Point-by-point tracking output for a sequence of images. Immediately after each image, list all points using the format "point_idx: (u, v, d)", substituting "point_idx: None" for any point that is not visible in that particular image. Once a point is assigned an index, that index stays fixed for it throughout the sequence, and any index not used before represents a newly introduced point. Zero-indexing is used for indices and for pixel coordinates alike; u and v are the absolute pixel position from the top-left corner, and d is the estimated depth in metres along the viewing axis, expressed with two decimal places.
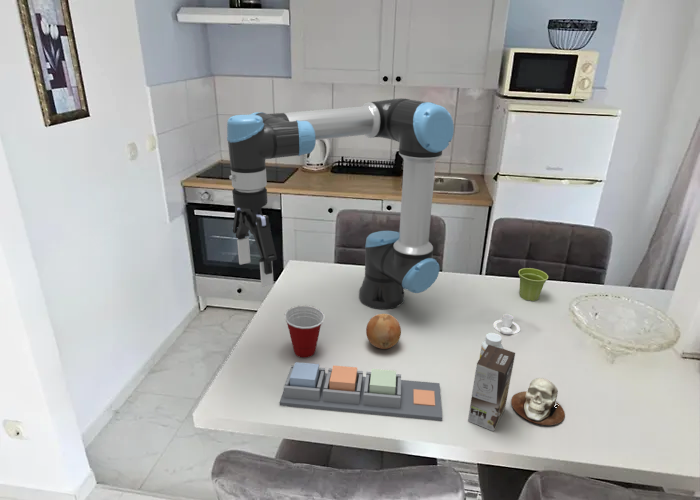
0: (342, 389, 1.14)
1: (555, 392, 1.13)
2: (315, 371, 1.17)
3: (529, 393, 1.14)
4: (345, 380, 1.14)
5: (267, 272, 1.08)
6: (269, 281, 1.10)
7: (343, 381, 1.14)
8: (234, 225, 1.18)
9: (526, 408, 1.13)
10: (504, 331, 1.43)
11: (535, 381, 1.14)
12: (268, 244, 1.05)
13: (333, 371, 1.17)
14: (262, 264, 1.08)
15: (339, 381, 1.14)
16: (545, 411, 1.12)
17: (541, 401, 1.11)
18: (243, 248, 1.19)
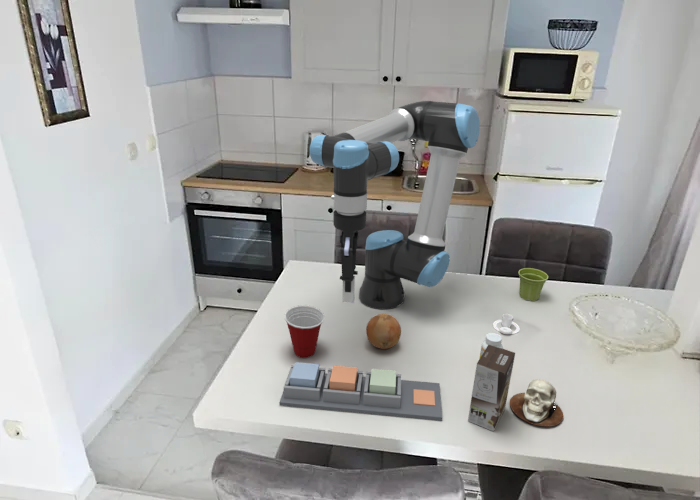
0: (342, 389, 1.14)
1: (554, 393, 1.13)
2: (315, 371, 1.17)
3: (528, 394, 1.13)
4: (345, 380, 1.14)
5: (345, 290, 1.16)
6: (350, 299, 1.19)
7: (343, 381, 1.14)
8: None
9: (525, 410, 1.12)
10: (504, 331, 1.43)
11: (534, 382, 1.13)
12: (346, 270, 1.12)
13: (333, 371, 1.17)
14: (344, 282, 1.17)
15: (339, 381, 1.14)
16: (544, 412, 1.11)
17: (540, 402, 1.10)
18: None
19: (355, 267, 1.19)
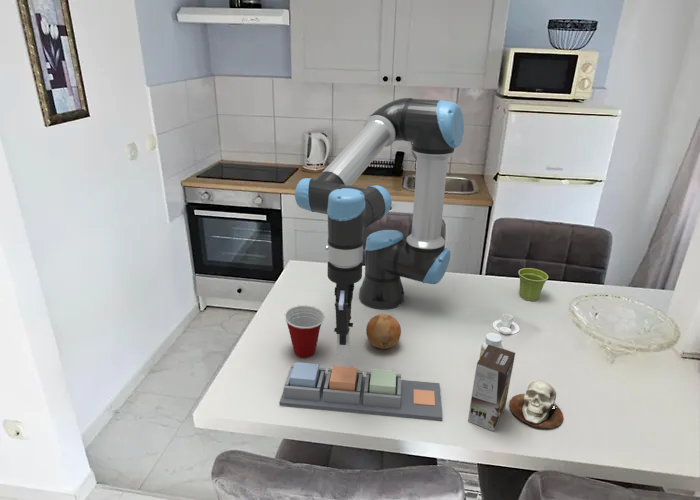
0: (342, 389, 1.14)
1: (553, 395, 1.12)
2: (315, 371, 1.17)
3: (527, 396, 1.13)
4: (345, 380, 1.14)
5: (340, 343, 1.10)
6: (344, 352, 1.12)
7: (343, 381, 1.14)
8: None
9: (525, 411, 1.12)
10: (503, 331, 1.43)
11: (533, 383, 1.13)
12: (341, 324, 1.05)
13: (333, 371, 1.17)
14: (338, 334, 1.11)
15: (339, 381, 1.14)
16: (543, 414, 1.11)
17: (539, 404, 1.10)
18: None
19: (350, 318, 1.13)
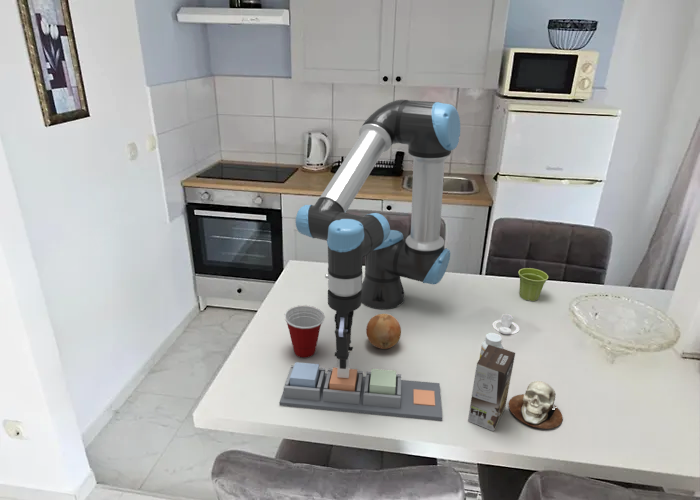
0: None
1: (553, 395, 1.12)
2: (315, 371, 1.17)
3: (527, 396, 1.13)
4: (345, 382, 1.15)
5: (340, 367, 1.13)
6: (345, 375, 1.15)
7: (343, 383, 1.14)
8: None
9: (524, 412, 1.12)
10: (503, 331, 1.43)
11: (533, 384, 1.13)
12: (341, 349, 1.08)
13: (333, 373, 1.17)
14: None
15: (339, 383, 1.14)
16: (543, 414, 1.11)
17: (539, 404, 1.10)
18: None
19: (350, 342, 1.16)
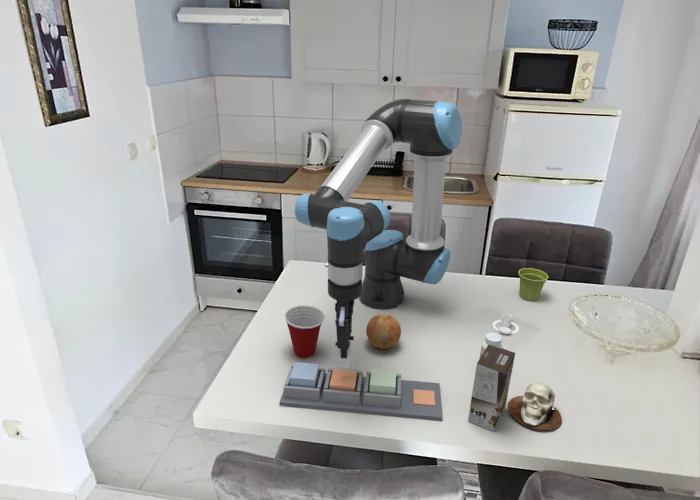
0: None
1: (552, 397, 1.12)
2: (315, 371, 1.17)
3: (526, 398, 1.12)
4: (345, 384, 1.15)
5: (341, 356, 1.12)
6: (346, 364, 1.15)
7: (343, 385, 1.14)
8: None
9: (523, 413, 1.11)
10: (503, 331, 1.43)
11: (532, 385, 1.12)
12: (342, 339, 1.07)
13: (333, 375, 1.18)
14: None
15: (339, 385, 1.14)
16: (542, 416, 1.10)
17: (538, 406, 1.09)
18: None
19: (351, 331, 1.15)
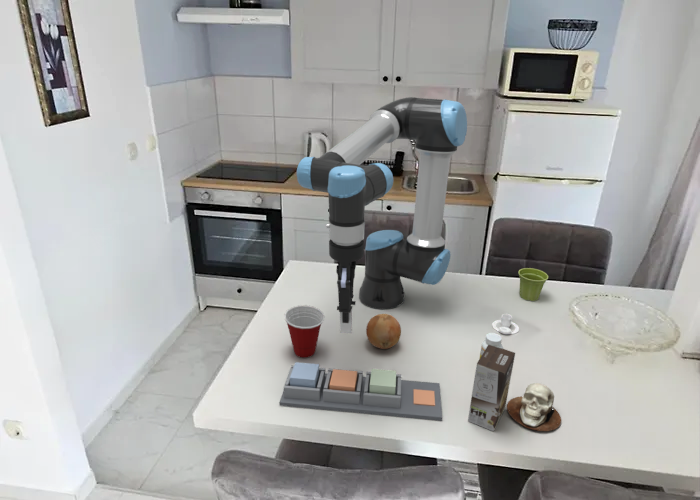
0: None
1: (551, 397, 1.11)
2: (315, 371, 1.17)
3: (525, 398, 1.12)
4: (345, 384, 1.15)
5: (343, 321, 1.11)
6: (347, 330, 1.13)
7: (343, 385, 1.14)
8: None
9: (522, 414, 1.11)
10: (503, 331, 1.43)
11: (531, 386, 1.12)
12: (344, 302, 1.06)
13: (333, 375, 1.18)
14: (341, 312, 1.11)
15: (339, 385, 1.14)
16: (541, 417, 1.10)
17: (537, 407, 1.09)
18: None
19: None
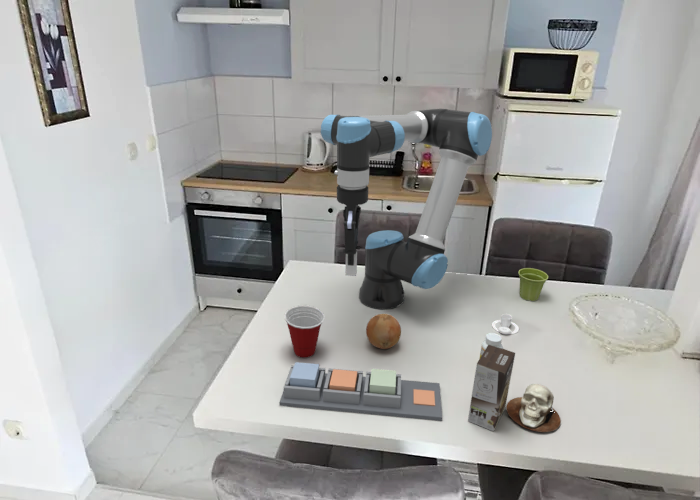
0: None
1: (551, 398, 1.11)
2: (315, 371, 1.17)
3: (524, 399, 1.12)
4: (345, 384, 1.15)
5: (348, 263, 1.21)
6: (352, 273, 1.23)
7: (343, 385, 1.14)
8: None
9: (522, 415, 1.11)
10: (503, 331, 1.43)
11: (531, 387, 1.12)
12: (349, 243, 1.16)
13: (333, 375, 1.18)
14: (347, 255, 1.21)
15: (339, 385, 1.14)
16: (540, 418, 1.10)
17: (536, 407, 1.09)
18: None
19: (357, 242, 1.23)
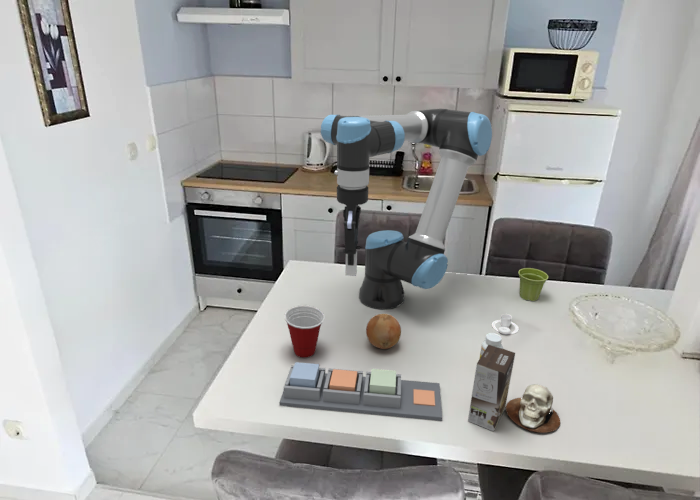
0: None
1: (550, 399, 1.11)
2: (315, 371, 1.17)
3: (524, 400, 1.12)
4: (345, 384, 1.15)
5: (348, 263, 1.21)
6: (352, 273, 1.23)
7: (343, 385, 1.14)
8: None
9: (521, 415, 1.11)
10: (502, 331, 1.43)
11: (530, 387, 1.11)
12: (349, 243, 1.16)
13: (333, 375, 1.18)
14: (347, 255, 1.21)
15: (339, 385, 1.14)
16: (540, 418, 1.09)
17: (536, 408, 1.09)
18: None
19: (357, 242, 1.23)
